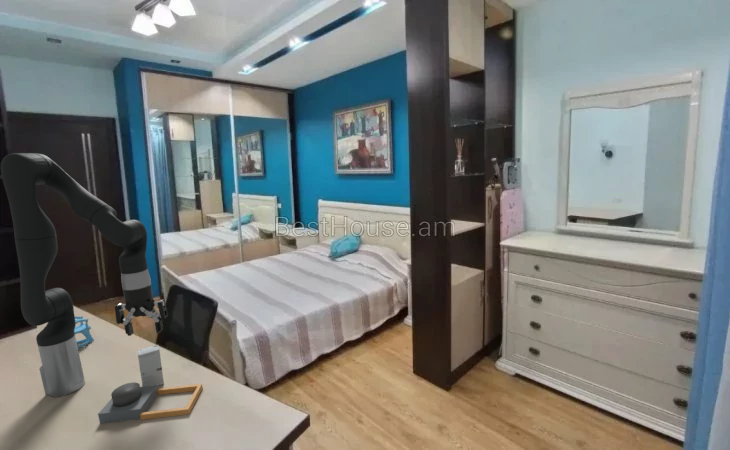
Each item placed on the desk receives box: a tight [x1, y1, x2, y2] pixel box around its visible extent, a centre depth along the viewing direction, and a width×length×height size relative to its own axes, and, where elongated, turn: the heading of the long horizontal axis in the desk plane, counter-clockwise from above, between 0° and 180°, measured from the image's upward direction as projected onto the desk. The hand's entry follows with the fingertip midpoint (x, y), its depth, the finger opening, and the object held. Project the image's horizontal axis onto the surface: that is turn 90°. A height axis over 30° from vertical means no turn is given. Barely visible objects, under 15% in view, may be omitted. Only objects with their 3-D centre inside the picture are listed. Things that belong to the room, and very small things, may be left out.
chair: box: [74, 315, 95, 350], centre depth 147 cm, size 8×8×12 cm
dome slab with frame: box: [97, 382, 203, 424], centre depth 108 cm, size 24×12×6 cm, turn 97°
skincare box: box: [137, 344, 165, 387], centre depth 118 cm, size 6×4×12 cm
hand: (145, 333), depth 116 cm, fingers open, 8 cm apart
